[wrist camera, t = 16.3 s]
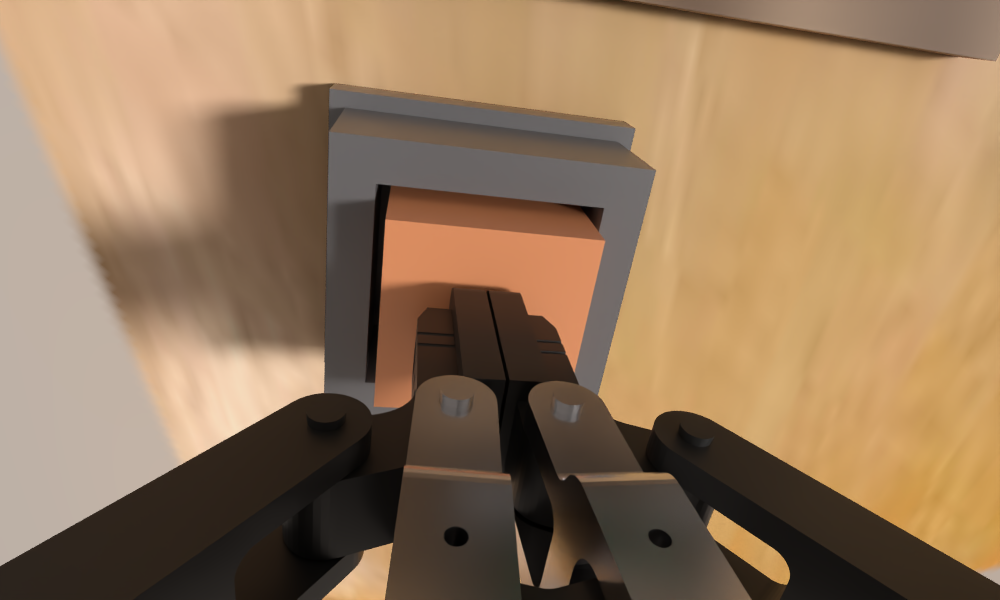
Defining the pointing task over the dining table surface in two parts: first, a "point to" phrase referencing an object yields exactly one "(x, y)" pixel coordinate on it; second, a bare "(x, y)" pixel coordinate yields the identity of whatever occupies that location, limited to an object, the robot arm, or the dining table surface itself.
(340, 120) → the button housing
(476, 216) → the button
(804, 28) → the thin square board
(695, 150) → the dining table surface
